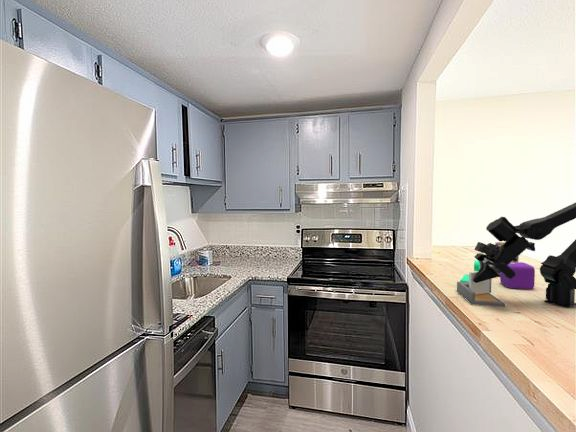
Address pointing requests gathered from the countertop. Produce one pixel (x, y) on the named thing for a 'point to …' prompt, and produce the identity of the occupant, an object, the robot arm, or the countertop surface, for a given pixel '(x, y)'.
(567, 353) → the countertop surface
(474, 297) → the camera case
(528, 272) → the toy camera
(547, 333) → the countertop surface
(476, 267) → the camera mount
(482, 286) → the door
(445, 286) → the countertop surface
